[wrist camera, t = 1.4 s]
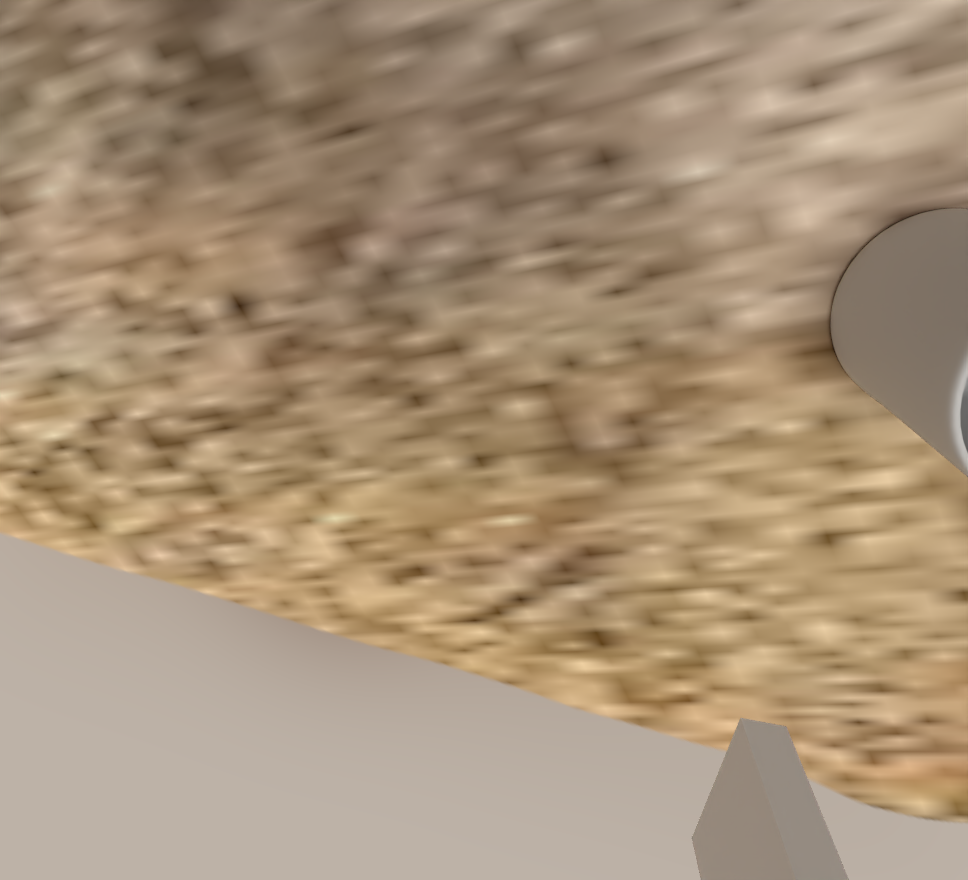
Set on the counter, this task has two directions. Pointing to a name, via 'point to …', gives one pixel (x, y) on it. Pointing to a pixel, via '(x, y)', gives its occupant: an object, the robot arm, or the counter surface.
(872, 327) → the mug
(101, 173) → the counter surface
